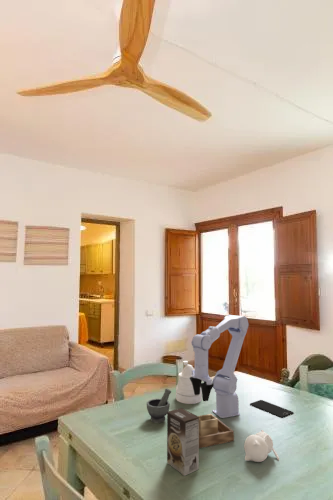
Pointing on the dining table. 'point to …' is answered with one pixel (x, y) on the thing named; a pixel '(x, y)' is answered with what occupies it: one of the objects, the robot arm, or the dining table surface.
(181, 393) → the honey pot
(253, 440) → the cat figurine
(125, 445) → the dining table surface
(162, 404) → the mortar and pestle
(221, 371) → the robot arm
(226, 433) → the large crate
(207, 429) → the small crate
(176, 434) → the coffee box
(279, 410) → the cell phone
